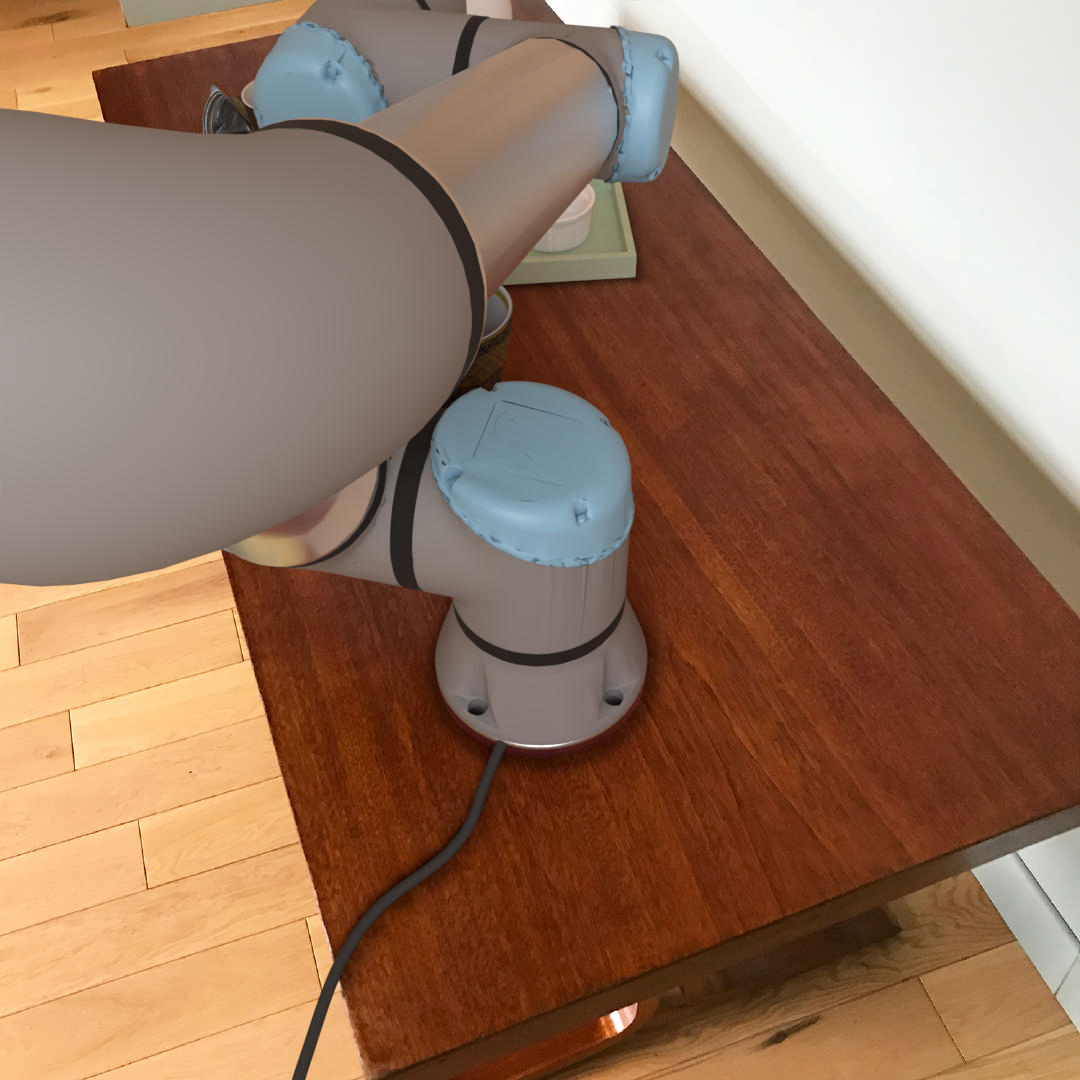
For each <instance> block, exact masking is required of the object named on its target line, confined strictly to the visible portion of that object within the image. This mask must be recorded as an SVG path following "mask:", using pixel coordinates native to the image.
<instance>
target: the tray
mask: <svg viewBox="0 0 1080 1080" xmlns="http://www.w3.org/2000/svg"><path fill="white" fill-rule="evenodd" d="M589 184H590V185H591V186H592V188H593V189H594V192H595V203H594V206H593V209H592V220H591V229H590V233H589V235H588V237H587V238H586V240H585V241H584V242H583V243H582V244H580V245H579V246H577V247H575V248H573V249H570V250H567V251H562V252H554V253H549V252H540V251H536V250H533V249H532V250H531V251H530V252H529V253H528V254H527V256H526V257H525V258H524V259H523V260H522V261H521V263H520V264H519V265H518V266H517V267H516V268H515V270H514V271H513V272H512V273H511V274H510V275H509V276H508V278H507V279H506V280H505V281H504V282H503V283H502V286H510V285H511V286H512V285H529V284H545V283H546V284H547V283H548V284H549V283H563V282H577V281H578V282H580V281H595V280H610V279H611V280H612V279H613V280H614V279H631V278H636V275H637V258H638V257H637V256H638V255H637V250H636V247H635V241H634V237H633V232H632V228H631V222H630V218H629V214H628V209H627V204H626V200H625V195H624V190H623V187H622V186H623V185H622V182H616V183H614V184H611V183H605V182H604V180H600V179H592V180H591V182H590V183H589Z"/></svg>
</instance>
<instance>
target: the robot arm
mask: <svg viewBox="0 0 1080 1080" xmlns="http://www.w3.org/2000/svg"><path fill="white" fill-rule="evenodd" d="M254 80H255V81H254ZM254 80H253V81H254V86H253V93H252V101H253V112H254V114H255V117H256V120H257V124H258V126H259V129H258V130H255V131H253V132H251V133H248V134H203V133H195V132H187V131H178V130H172V129H171V130H170V129H162V128H153V127H146V126H136V125H128V124H122V123H121V124H119V123H113V122H105V121H99V120H93V119H87V118H79V117H73V116H66V115H61V114H60V115H59V114H53V113H46V112H40V111H33V110H22V109H13V108H3V107H0V584H4V585H15V586H17V585H18V586H27V587H28V586H29V587H42V588H43V587H60V586H61V587H63V586H76V585H84V584H85V585H86V584H92V583H100V582H106V581H112V580H117V579H123V578H127V577H131V576H136V575H140V574H141V575H142V574H145V573H151V572H154V571H155V572H156V571H159V570H164V569H166V568H170V567H172V566H175V565H178V564H181V563H185V562H188V561H190V560H194V559H197V558H199V557H203V556H206V555H210V554H213V553H215V552H218V551H221V550H222V551H225V552H227V553H231V554H233V555H235V556H236V557H238V558H240V559H242V560H245V561H246V562H247V561H248V562H250V563H253V564H256V565H261V566H267V567H274V568H285V569H294V570H295V569H297V570H308V571H314V572H322V573H328V574H333V575H339V576H343V577H348V578H354V579H359V580H364V581H369V582H374V583H378V584H384V585H389V586H395V587H400V588H404V589H407V590H414V591H418V592H424V593H428V594H433V595H439V596H443V597H447V598H451V599H452V600H451V603H450V606H449V609H448V611H447V614H446V616H445V619H444V621H443V623H442V626H441V628H440V631H439V634H438V638H437V642H436V646H435V651H434V652H435V653H434V669H435V676H436V682H437V685H438V686H437V687H438V691H439V695H440V698H441V700H442V703H443V705H444V707H445V708H446V710H447V712H448V714H449V715H450V716H451V718H452V720H453V721H454V722H455V723H456V724H457V725H458V726H459V728H461V730H462V731H464V732H465V733H466V734H467V735H469V737H471V738H472V739H474V740H475V741H477V742H479V743H480V744H482V745H484V746H486V747H487V748H489V749H492V751H491V753H490V756H489V758H488V759H487V763H486V766H485V768H484V771H483V773H482V775H481V777H480V780H479V782H478V785H477V788H476V790H475V793H474V796H473V799H472V803H471V807H470V808H469V811H468V814H467V817H466V818H465V821H464V823H463V824H462V826H461V827H460V829H459V830H458V832H457V833H456V834H455V836H454V837H453V838H452V839H451V841H450V842H449V843H448V844H447V845H446V846H445V847H443V849H442V850H440V852H438V853H437V854H436V855H435V856H434V857H433V858H431V859H430V860H429V861H428V862H426V863H425V864H423V865H422V866H421V867H420V868H418V869H417V870H415V871H413V872H412V873H411V874H409V875H408V876H407V877H405V878H403V879H402V880H401V881H399V882H398V883H397V884H395V885H394V886H392V887H391V888H390V889H389V890H388V891H386V892H385V893H383V895H382V896H381V897H379V898H378V899H377V901H375V902H374V903H373V904H372V905H371V906H370V907H369V908H368V910H366V911H365V912H364V913H363V915H362V917H361V918H360V919H359V920H358V922H357V923H356V925H355V926H354V927H353V928H352V930H351V932H350V933H349V935H348V936H347V938H346V939H345V940H344V942H343V944H342V946H341V948H340V950H339V951H338V953H337V954H336V957H335V959H334V960H333V963H332V964H331V967H330V969H329V971H328V973H327V975H326V978H325V981H324V983H323V986H322V988H321V991H320V993H319V996H318V999H317V1001H316V1005H315V1007H314V1011H313V1014H312V1017H311V1020H310V1023H309V1025H308V1029H307V1032H306V1035H305V1038H304V1041H303V1043H302V1044H303V1045H302V1047H301V1050H300V1053H299V1055H298V1058H297V1062H296V1064H295V1068H294V1071H293V1074H292V1077H291V1080H306V1079H307V1076H308V1072H309V1070H310V1066H311V1063H312V1060H313V1057H314V1054H315V1052H316V1048H317V1045H318V1042H319V1039H320V1036H321V1033H322V1029H323V1027H324V1023H325V1020H326V1018H327V1015H328V1011H329V1008H330V1005H331V1003H332V1002H331V1001H332V1000H333V998H334V995H335V991H336V988H337V987H338V984H339V981H340V979H341V977H342V975H343V972H344V970H345V969H346V967H347V964H348V962H349V960H350V959H351V957H352V955H353V953H354V952H355V949H356V948H357V947H358V945H359V943H360V941H361V940H362V939H363V937H364V936H365V934H366V933H367V931H368V930H369V929H370V928H371V926H372V925H373V923H374V922H375V921H376V920H377V919H378V918H379V917H380V916H381V915H382V914H383V912H385V911H386V910H387V909H388V908H389V907H390V906H391V905H392V904H393V903H395V902H396V901H397V900H399V898H401V897H402V896H403V895H405V894H406V893H407V892H409V891H410V890H412V889H413V888H414V887H416V886H417V885H419V884H420V883H422V882H423V881H424V880H426V879H428V878H429V877H430V876H431V875H433V874H434V873H435V872H436V871H438V870H439V869H441V868H442V867H443V866H444V865H445V864H446V863H448V862H449V861H450V860H451V859H452V858H453V857H454V856H455V855H456V853H458V851H459V850H460V849H461V848H462V847H463V845H464V844H465V843H466V842H467V840H469V837H470V836H471V835H472V833H473V832H474V831H475V828H476V826H477V824H478V822H479V819H480V817H481V815H482V811H483V808H484V805H485V802H486V799H487V795H488V793H489V789H490V787H491V784H492V782H493V779H494V777H495V775H496V772H497V770H498V767H499V765H500V763H501V760H502V758H503V755H504V754H506V755H510V756H514V757H518V758H524V759H525V758H526V759H536V760H537V759H538V760H539V759H540V760H541V759H542V760H543V759H555V758H562V757H567V756H571V755H574V754H575V755H576V754H578V753H581V752H584V751H586V750H589V749H592V748H593V747H596V746H597V745H599V744H601V743H603V742H604V741H606V740H608V739H609V738H610V737H612V736H613V735H614V734H616V732H618V731H619V730H620V729H621V728H622V727H623V726H624V725H625V724H626V723H627V722H628V720H629V719H630V718H631V716H632V715H633V713H634V712H635V711H636V709H637V707H638V705H639V703H640V701H641V699H642V696H643V692H644V689H645V686H646V679H647V672H648V671H647V670H648V647H647V642H646V637H645V634H644V632H643V629H642V625H641V624H640V622H639V620H638V617H637V615H636V613H635V611H634V609H633V607H632V605H631V603H630V601H629V599H628V597H627V593H626V592H627V581H628V580H627V579H628V576H627V575H628V564H629V563H628V561H629V548H630V533H631V530H632V525H633V522H634V518H635V510H636V509H635V508H636V507H635V503H634V492H633V490H632V466H631V465H632V464H631V460H630V455H629V451H628V449H627V446H626V444H625V441H624V439H623V437H622V435H621V434H620V432H619V431H618V430H617V429H615V428H614V427H613V426H612V425H611V421H610V420H609V418H608V417H607V416H606V415H605V414H604V412H602V411H601V410H600V409H598V408H597V407H596V406H595V405H593V404H592V403H590V402H589V401H588V400H587V399H585V398H583V397H581V396H579V395H577V394H575V393H573V392H570V391H568V390H566V389H563V388H560V387H557V386H554V385H551V384H547V383H542V382H537V381H529V380H526V381H525V380H510V381H509V380H508V381H502V382H500V383H496V384H495V385H494V387H493V390H492V391H489V392H488V391H487V390H485V389H483V388H481V387H480V388H477V389H474V390H472V391H470V392H468V393H467V394H465V395H463V396H461V397H460V391H459V384H460V382H461V381H462V380H463V378H464V376H465V375H466V373H467V371H468V369H469V368H470V366H471V364H472V363H473V361H474V359H475V357H476V354H477V352H478V349H479V346H480V344H481V341H482V337H483V332H484V328H485V323H486V314H487V301H488V300H489V298H490V297H491V296H492V295H493V294H494V293H495V292H496V290H497V289H498V288H499V287H500V286H501V285H502V283H503V282H504V281H505V280H506V279H507V278H508V276H509V275H510V274H511V273H512V272H513V271H514V270H515V268H516V267H517V266H518V265H519V264H520V263H521V261H522V260H523V259H524V258H525V257H526V256H527V254H528V253H529V252H530V251H531V250H532V249H533V248H534V246H535V245H536V244H537V243H538V242H539V241H540V239H541V238H542V237H543V236H544V235H545V234H546V232H547V231H548V230H549V229H550V228H551V227H552V226H553V224H554V223H555V222H556V221H557V220H558V219H559V217H560V216H561V215H562V214H563V213H564V212H565V210H566V209H567V208H568V207H569V206H570V205H571V204H572V202H573V201H574V200H575V199H576V198H577V197H578V195H579V194H580V193H581V192H582V191H583V190H584V188H585V187H586V186H587V185H588V184H589V183H590V182H591V180H592V179H600V180H604V182H605V183H611V184H614V183H616V182H621V183H631V184H646V183H651V182H653V181H655V180H656V179H657V178H658V177H659V176H660V175H661V174H662V172H663V170H664V168H665V166H666V163H667V159H668V156H669V152H670V147H671V144H672V138H673V133H674V127H675V123H676V122H675V121H676V113H677V105H678V97H679V86H680V85H679V84H680V59H679V53H678V51H677V47H676V45H675V44H674V42H673V41H672V40H671V38H669V37H667V36H665V35H661V34H656V33H650V32H645V31H644V32H643V31H636V30H630V29H626V28H625V27H624V26H621V25H615V24H614V25H613V24H612V25H610V26H609V27H605V26H593V25H592V26H591V25H582V24H581V25H579V24H568V23H555V22H545V21H535V20H533V21H532V20H521V19H513V20H510V19H498V18H490V17H488V16H477V15H471V14H467V5H466V0H315V1H314V2H313V3H311V5H310V6H309V8H307V9H306V10H305V12H303V14H302V15H300V17H299V18H298V19H296V21H295V22H294V23H293V24H292V26H287V27H286V28H285V29H284V30H283V31H282V32H281V33H280V34H279V36H278V39H277V41H276V42H275V44H274V45H273V47H271V49H270V51H269V52H268V53H267V54H266V55H265V58H264V60H263V62H262V64H261V65H260V67H259V69H258V71H256V74H255V78H254ZM502 286H503V285H502Z"/></svg>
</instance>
